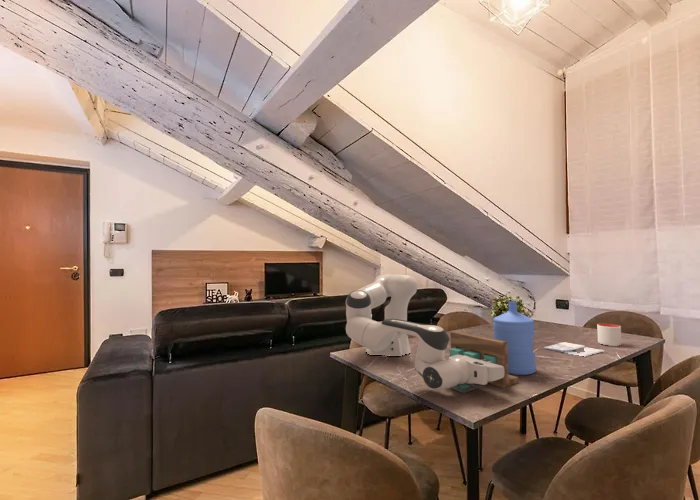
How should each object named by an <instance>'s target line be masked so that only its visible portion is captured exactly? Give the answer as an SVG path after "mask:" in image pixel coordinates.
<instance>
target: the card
mask: <svg viewBox="0 0 700 500" xmlns="http://www.w3.org/2000/svg"><path fill="white" fill-rule="evenodd" d="M450 389H452V390H454V391H457V392H460V393H462V394H463V393H464V394H465V393H467V392H471V391H474V390H476V389H479V386H478V385H477V384H474V383H469V384H467V383H464V384H457V385H456V386H454V387H451V388H450Z"/></svg>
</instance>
